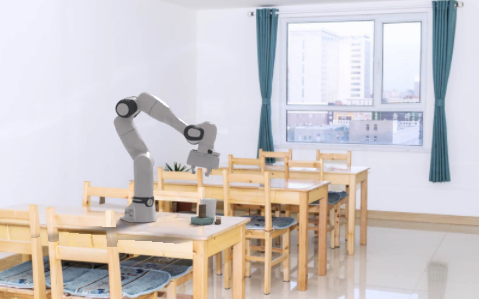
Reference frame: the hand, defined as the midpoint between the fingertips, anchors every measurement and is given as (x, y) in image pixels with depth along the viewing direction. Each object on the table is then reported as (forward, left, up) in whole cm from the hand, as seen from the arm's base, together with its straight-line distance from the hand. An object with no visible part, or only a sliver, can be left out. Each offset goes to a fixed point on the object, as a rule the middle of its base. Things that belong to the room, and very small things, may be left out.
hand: (199, 175), depth 332 cm
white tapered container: (-13, +19, -28) cm, 36 cm away
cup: (-4, +6, -28) cm, 29 cm away
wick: (0, +15, -28) cm, 32 cm away
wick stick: (-4, +6, -27) cm, 28 cm away
